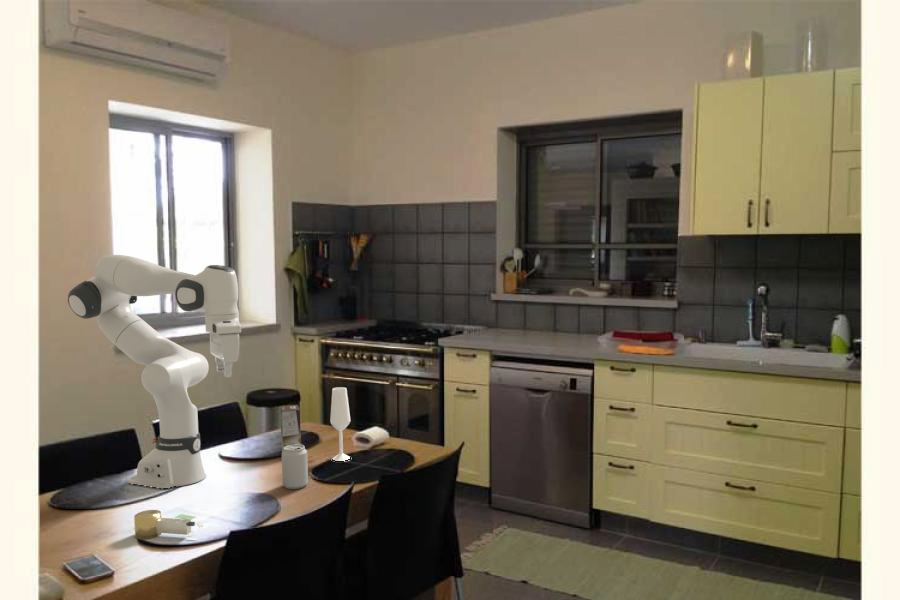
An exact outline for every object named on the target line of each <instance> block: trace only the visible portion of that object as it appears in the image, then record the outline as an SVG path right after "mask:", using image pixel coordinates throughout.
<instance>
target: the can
mask: <svg viewBox="0 0 900 600" xmlns="http://www.w3.org/2000/svg"><path fill="white" fill-rule="evenodd" d="M308 470H309V466H308V450H307V449H306V448H305V445H304V444H301V445H299V444H295V445H288V446H285V447H284V451H283V452H282V451H281V471H282V473H281V474H282V477H281V478H282V485H283V487H285V488H286V489H289V490H299V489H302V488H303V489H304V488H305V487H306V485H308V483H309V471H308Z"/></svg>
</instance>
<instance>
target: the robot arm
mask: <svg viewBox="0 0 900 600" xmlns="http://www.w3.org/2000/svg"><path fill="white" fill-rule="evenodd" d="M94 266H95V267H94V276H93V277H90V278H88V280H84V281H82V282H80V283H79V284H77V285H76V286H74V287H73V288H72V289H71V290H70V291H69V292H68V295H67V303H68V306H69V308H70V309H71V310H72V312H73V314H75V315H76V316H78V317H79V318H82V319H83V320H84V319H85V320H86V319H88V320H89V319H92V318H96V317H97V326H98V328H99V329H100V331H101V332H102V333H103V335H104V336H105V337H106V338H107V339H108V341H110V342H111V343H112V344H113V345H114V346H116V347H117V348H118V349H119V350H120V351H121V352H123V354H125V355H126V356H127V357H129V359H131V360H132V361H133V362H135V363H136V364H139V365H142V366H145V367H144V368H143V370H142V373H141V376H140V378H141V379H140V380H141V384H142V386H143V388H144V390H146V392H148V393H149V394H150V395H151V396H152V397H153V400H154V402H155V405H156V408H157V412H158V419H159V421H158V422H159V435H158V436H156V438H153V439H152V440H151V441H152V442H151V443H152V444H156V445H155V447H154V449H152V450H151V451H149V453H147V454H146V455H145V456H144V457H142V459H141V460H139V462H138V464H137V468H136V474H135V475H133V476H131V477H130V478H129V480H128V484H129V483H132V484H131V485H133V484H140V485H146V486H152V487H158V488H157V489H159V488H168V489H170V488H169V487H172V488H174V487H173V486H176V487H181V486H188V485H192V484H194V483H198V482H200V481H203V480H204V479H206V476H207V474H206V472H205V469H204V466H203V462H202V456H201V433H200V432H199V419H198V418H199V417H198V415H199V414H198V408H197V406H196V405H195V404H194V403H192V401H191V399H190V397H189V393H188V388H191V387H194V386H196V385H198V384H199V383H200V382H201V381H203V380H204V379H205V378H206V377H207V376H208V373H209V370H210V369H209V367H210V366H209V362H208V359H207V358H206V357H205V356H204V354H201V353H199V352H196V351H192V350H190V349H187V348H185V347H184V346H181V345H179V344H178V343H176V342H174V341H172V340H170V339H169V338H167V337H165V336H164V335H162V334H160V333H159V332H158V331H157V330H156V329H154V328H153V327H152V326H151V325H150V324H148V323H147V322H146V321H145V320H144V319H143V318H141V317H140V316H139V315H137V314H136V313H135V312H134V311H133V310H132V309H131V306H130V305H132V304H136V302H137V301H138V297H151V296H161V295H171V294H174V296H175V301H176V304H177V306H178V307H179V308H180V309H181V310H182V311H184V312H187V313H189V312H190V313H197V312H204V318H205V319H204V322H205V323H204V324H205V332H207V333H209V352H210V354H211V355H212V356H214V361H215V364H216V371H217V373H223V377H225V378H231V377H232V375H233V365H234V363H235V362H238V360H239V357H240V334H241V333H242V325H241V323H240V311H239V307H238V300H239V284H238V277H237V274H236V270H235V269H234V268H233V267H230V266H226V265H219V264H211V265H210V264H209V265H207V266H206V267H205V268H204V269H203V270H202V271H201V272H199V273H198V274H190V273H187V272H182V271H177V270H174V269H170V268H168V267H165V266H163V265H162V266H161V265H160V264H159V265H158V264H156V263H153V262H150V261H147V260H144V259H142V258H137V257H134V256H129V255H123V254H107V255H104V256H102V257H101V258H99V260H98V261H97V262H96V265H94ZM146 486H145V487H146ZM152 487H151V488H152Z"/></svg>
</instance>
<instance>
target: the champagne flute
mask: <svg viewBox="0 0 900 600" xmlns="http://www.w3.org/2000/svg"><path fill="white" fill-rule="evenodd" d="M329 419H330V421H329V422H330V424H331V426H332V427H333V428H334V429H335V430H336V431H338V444H339V453H338V454H337V455H335V456H334V457H332V458H331V460H332V459H333V460H335V461H344V462H346V461H345V460H348V459H350V457H351V456H349V455H347V454H345V453H344V442H343V441H344V440H343V431H344V430H346V428H347V427H348V426H349V425H350V423H351V414H350V406H349V396H348V390H347V387H344V386H343V387H342V386H340V387H339V386H338V387H333V388H332V390H331V403H330V418H329ZM335 461H334V462H335ZM348 461H349V460H348Z"/></svg>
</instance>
